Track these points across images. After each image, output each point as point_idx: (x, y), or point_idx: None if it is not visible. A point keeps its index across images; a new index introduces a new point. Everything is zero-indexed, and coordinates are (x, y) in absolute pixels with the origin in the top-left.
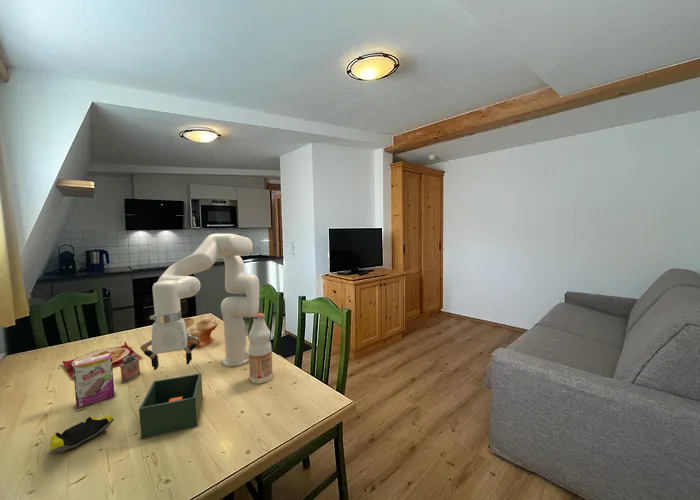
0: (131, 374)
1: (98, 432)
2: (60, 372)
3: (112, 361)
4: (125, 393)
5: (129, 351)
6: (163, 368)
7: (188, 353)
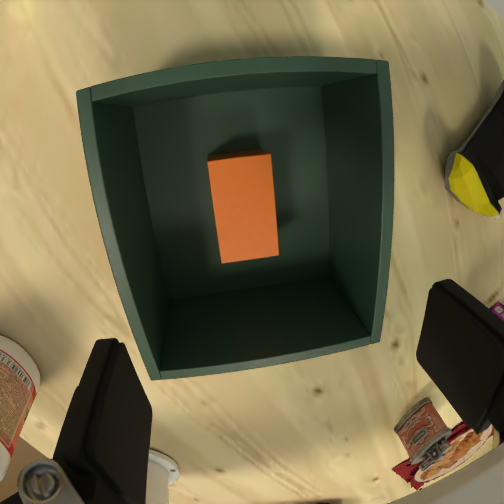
0: (416, 420)
1: (459, 149)
2: None
3: None
4: None
5: (414, 477)
6: (344, 450)
7: (77, 463)
